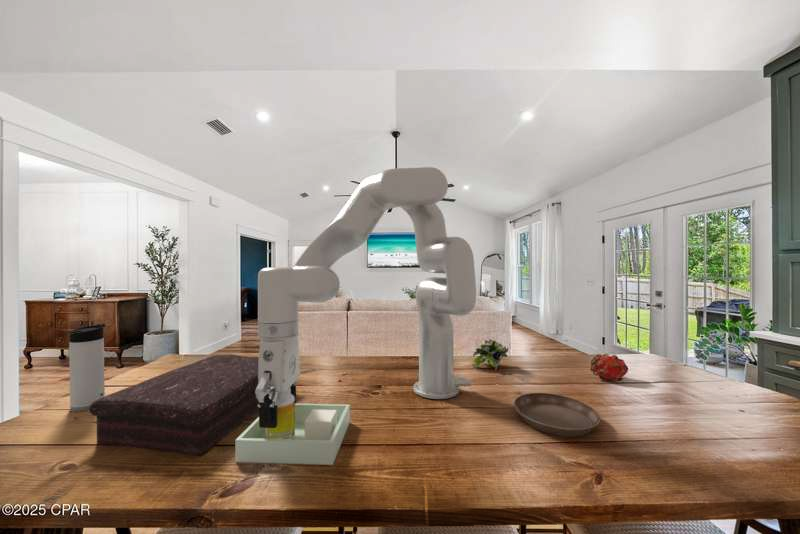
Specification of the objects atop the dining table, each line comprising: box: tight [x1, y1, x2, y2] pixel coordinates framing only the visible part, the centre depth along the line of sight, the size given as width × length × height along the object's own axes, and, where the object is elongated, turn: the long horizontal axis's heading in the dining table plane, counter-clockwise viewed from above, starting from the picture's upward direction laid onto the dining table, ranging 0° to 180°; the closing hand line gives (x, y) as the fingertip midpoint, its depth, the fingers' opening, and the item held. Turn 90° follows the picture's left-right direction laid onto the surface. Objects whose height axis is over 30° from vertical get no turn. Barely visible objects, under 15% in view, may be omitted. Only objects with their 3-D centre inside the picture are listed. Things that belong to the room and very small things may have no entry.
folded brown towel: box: [88, 354, 271, 458], centre depth 79 cm, size 34×26×10 cm
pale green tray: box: [234, 402, 351, 466], centre depth 66 cm, size 17×15×4 cm
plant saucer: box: [513, 392, 601, 438], centre depth 76 cm, size 18×18×3 cm
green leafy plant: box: [472, 339, 509, 372], centre depth 113 cm, size 11×11×12 cm
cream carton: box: [305, 409, 337, 440], centre depth 66 cm, size 5×5×5 cm
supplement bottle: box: [265, 387, 295, 439], centre depth 67 cm, size 6×6×10 cm
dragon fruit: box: [590, 353, 629, 382], centre depth 102 cm, size 8×8×12 cm
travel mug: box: [68, 323, 106, 413], centre depth 83 cm, size 6×7×20 cm
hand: (279, 414), depth 66 cm, fingers open, 9 cm apart
